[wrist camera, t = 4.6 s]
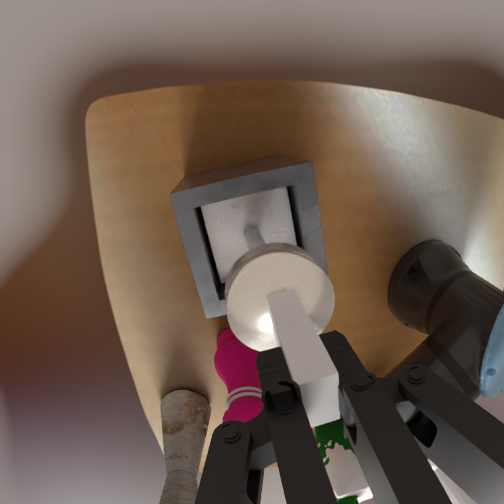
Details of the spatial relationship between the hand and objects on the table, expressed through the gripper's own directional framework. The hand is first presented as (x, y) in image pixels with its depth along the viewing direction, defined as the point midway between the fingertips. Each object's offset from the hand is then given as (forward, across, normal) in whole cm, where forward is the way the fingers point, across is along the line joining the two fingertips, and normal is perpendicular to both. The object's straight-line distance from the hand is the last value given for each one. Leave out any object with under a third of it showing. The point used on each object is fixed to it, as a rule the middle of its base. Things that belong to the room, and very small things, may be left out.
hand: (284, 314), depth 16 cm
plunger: (+15, 0, 0) cm, 15 cm away
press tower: (+25, 0, 0) cm, 25 cm away
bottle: (+25, +17, +30) cm, 43 cm away
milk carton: (+25, -8, +49) cm, 56 cm away
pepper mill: (+25, +5, +19) cm, 32 cm away
